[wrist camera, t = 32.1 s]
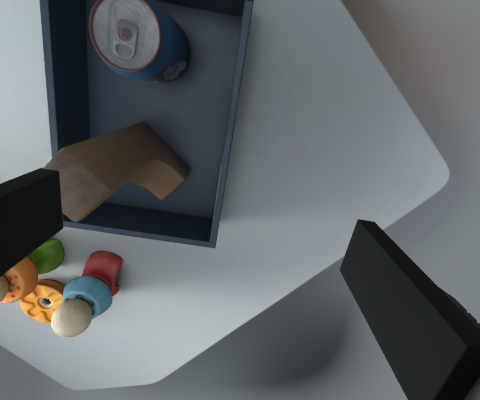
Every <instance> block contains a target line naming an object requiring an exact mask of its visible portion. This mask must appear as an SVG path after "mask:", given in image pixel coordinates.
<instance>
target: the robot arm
mask: <svg viewBox="0 0 480 400" xmlns="http://www.w3.org/2000/svg"><path fill="white" fill-rule="evenodd" d="M62 229H63V216H62V202H61V189H60V175H59V171H56V170H50V169H43V168H40V169H37V170H35V171H32V172H29V173H27V174H24V175H22V176H19V177H17V178H14V179H11V180H9V181H6V182H4V183H1V184H0V277H1V276H2V275H3V274H5V273H6V272H7V271H9V270H10V269H11V268H12V267H14V266H15V265H16V264H18V263H19V262H20V261H22V260H23V259H24V258H25V257H27V256H28V255H29V254H31V253H32V252H33V251H34V250H36V249H37V248H38V247H40V246H41V245H42V244H44V243H45V242H46V241H47V240H49V239H50V238H51V237H53V236H54V235H55V234H56V233H58V232H59V231H60V230H62ZM340 272H341V274H342V275H343V277H344V279H345V281H346V283H347V285H348V287H349V289H350V291H351V292H352V294H353V296H354V298H355V300H356V302H357V304H358V305H359V307H360V309H361V312H362V313H363V315H364V317H365V319H366V321H367V323H368V325H369V327H370V329H371V330H372V332H373V334H374V336H375V338H376V340H377V342H378V344H379V346H380V348H381V350H382V351H383V353H384V355H385V357H386V359H387V361H388V363H389V364H390V366H391V368H392V370H393V372H394V374H395V376H396V378H397V380H398V382H399V383H400V385H401V387H402V389H403V391H404V393H405V395H406V396H407V399H408V400H480V323H477V320H476V319H475V318H474V317H473V316H472V315H471V314H470V313H467V310H466V309H465V308H464V307H463V306H462V305H461V304H460V303H459V302H458V301H457V300H456V299H455V298H453V297H452V296H451V295H449V294H448V293H446V292H445V291H443V290H442V289H441V288H439V287H437V285H436V284H435V283H434V282H433V281H432V280H431V279H430V278H429V277H428V276H427V275H426V274H425V273H424V272H423V271H422V270H421V269H420V268H419V267H418V266H417V265H416V264H415V263H414V262H413V261H412V260H411V259H410V258H409V257H408V256H407V255H406V254H405V253H404V252H403V251H402V250H401V249H400V248H399V247H398V246H397V245H396V244H395V242H394V241H393V240H391V238H390V237H389V236H388V235H387V234H386V233H385V232H384V231H383V230H382V229H381V228H380V227H379V226H378V225H377V224H376V223H375V222H372V221H365V220H359V219H358V221H357V223H356V226H355V229H354V232H353V234H352V237H351V240H350V243H349V246H348V248H347V251H346V254H345V257H344V259H343V263H342V265H341V268H340Z"/></svg>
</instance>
